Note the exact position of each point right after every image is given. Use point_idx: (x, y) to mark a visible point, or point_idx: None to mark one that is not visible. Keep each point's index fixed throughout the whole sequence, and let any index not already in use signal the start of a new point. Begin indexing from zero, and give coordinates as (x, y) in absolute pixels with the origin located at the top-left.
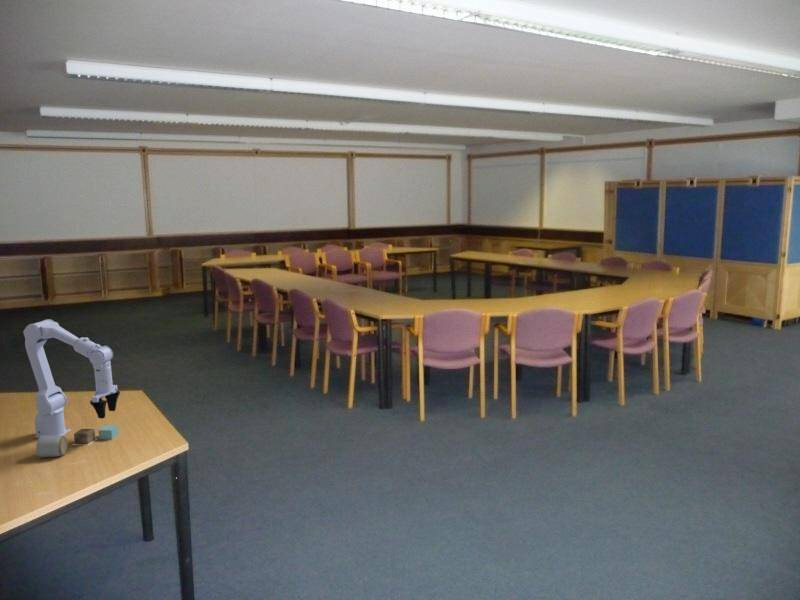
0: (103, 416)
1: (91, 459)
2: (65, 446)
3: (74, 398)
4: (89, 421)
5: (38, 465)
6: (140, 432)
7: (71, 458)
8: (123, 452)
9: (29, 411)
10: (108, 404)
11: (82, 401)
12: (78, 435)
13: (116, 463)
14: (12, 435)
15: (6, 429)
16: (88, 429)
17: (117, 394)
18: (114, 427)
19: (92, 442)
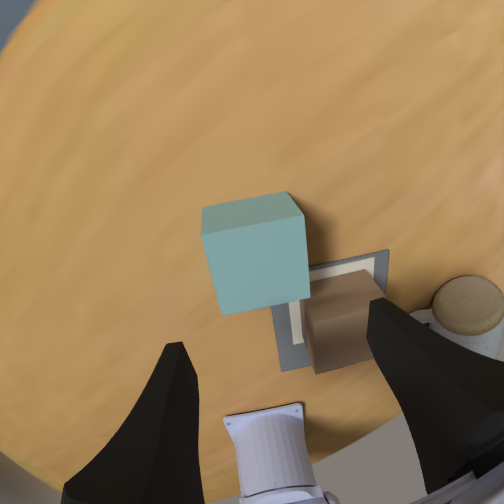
0: (395, 308)
1: (486, 147)
2: (457, 300)
3: (56, 476)
4: (126, 414)
5: None
6: (126, 102)
7: (474, 233)
8: (421, 33)
9: None
10: (196, 430)
11: (52, 464)
12: None
13: (497, 28)
14: None
15: None
16: (325, 342)
17: (140, 502)
18: (244, 233)
19: (341, 266)
